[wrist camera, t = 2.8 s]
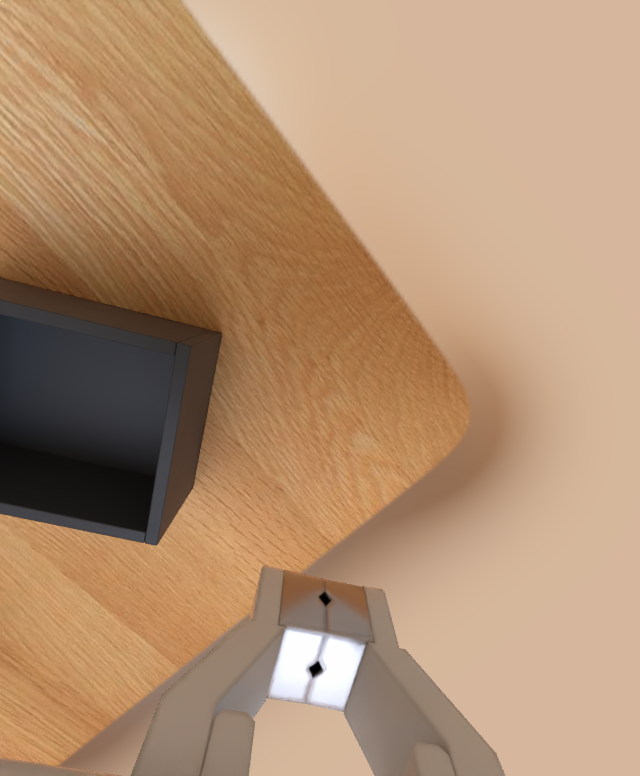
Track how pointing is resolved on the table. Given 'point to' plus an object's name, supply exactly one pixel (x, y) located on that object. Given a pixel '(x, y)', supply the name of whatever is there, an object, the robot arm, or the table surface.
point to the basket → (99, 412)
